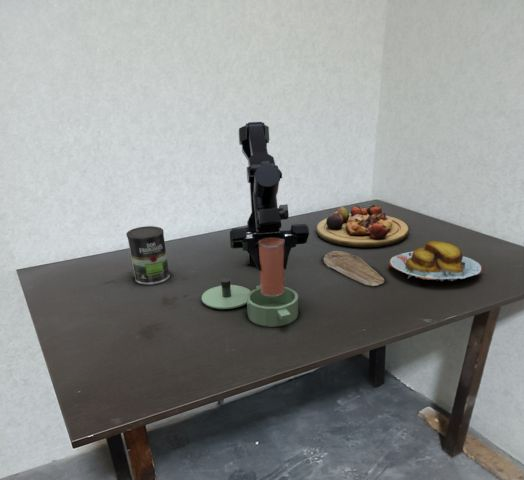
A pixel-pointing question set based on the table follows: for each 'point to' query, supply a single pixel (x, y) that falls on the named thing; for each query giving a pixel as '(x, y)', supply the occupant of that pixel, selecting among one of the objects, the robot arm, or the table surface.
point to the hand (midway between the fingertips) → (272, 269)
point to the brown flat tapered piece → (353, 268)
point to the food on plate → (436, 262)
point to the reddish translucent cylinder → (271, 266)
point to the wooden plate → (362, 228)
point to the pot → (272, 308)
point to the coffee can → (148, 255)
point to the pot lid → (225, 296)
